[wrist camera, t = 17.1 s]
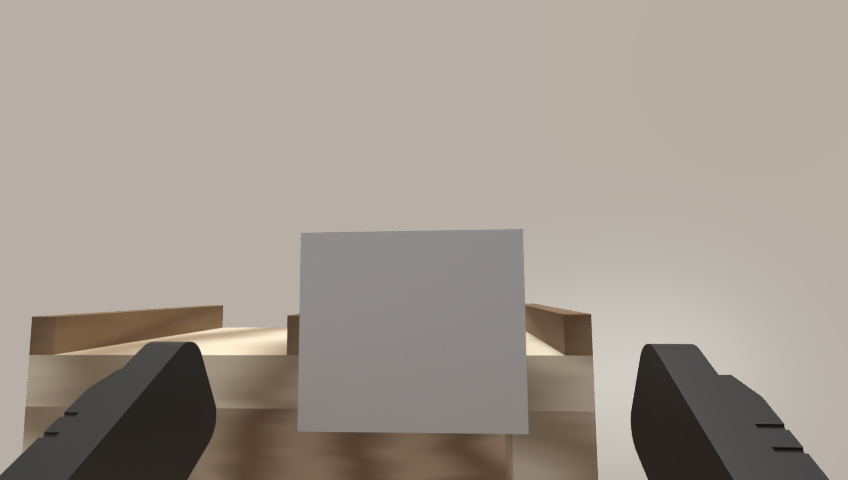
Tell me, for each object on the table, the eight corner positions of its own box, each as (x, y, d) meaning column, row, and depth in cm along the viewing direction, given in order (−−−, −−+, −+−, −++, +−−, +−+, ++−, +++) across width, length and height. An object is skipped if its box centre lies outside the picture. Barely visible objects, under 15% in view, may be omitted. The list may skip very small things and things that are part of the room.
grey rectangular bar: (477, 327, 32) (476, 273, 32) (528, 434, 8) (523, 229, 9) (416, 327, 32) (415, 274, 33) (297, 431, 9) (300, 232, 9)
